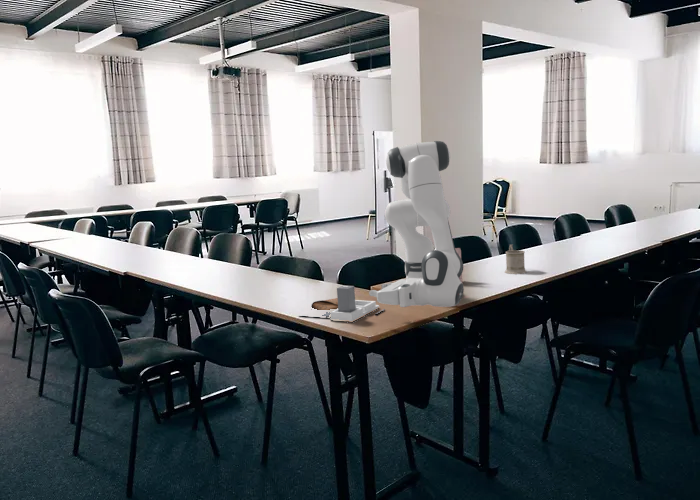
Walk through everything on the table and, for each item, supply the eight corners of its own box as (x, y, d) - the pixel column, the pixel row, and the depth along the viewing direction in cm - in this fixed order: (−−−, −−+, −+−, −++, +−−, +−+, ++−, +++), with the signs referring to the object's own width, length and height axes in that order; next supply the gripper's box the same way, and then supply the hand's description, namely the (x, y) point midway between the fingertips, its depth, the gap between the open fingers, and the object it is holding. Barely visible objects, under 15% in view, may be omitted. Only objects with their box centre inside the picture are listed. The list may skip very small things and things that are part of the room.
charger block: (345, 312, 204) (343, 284, 202) (356, 313, 201) (354, 285, 200) (338, 315, 200) (336, 287, 198) (349, 316, 198) (347, 288, 196)
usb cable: (383, 310, 209) (383, 308, 209) (385, 310, 209) (385, 308, 209) (374, 315, 202) (374, 313, 202) (376, 315, 202) (376, 313, 202)
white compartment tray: (358, 306, 217) (357, 298, 217) (379, 308, 213) (378, 299, 212) (330, 321, 199) (329, 312, 199) (352, 322, 195) (352, 313, 194)
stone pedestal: (529, 273, 260) (528, 247, 258) (507, 274, 260) (506, 248, 258) (520, 268, 274) (519, 243, 272) (500, 269, 274) (499, 244, 273)
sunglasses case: (320, 314, 209) (315, 297, 211) (314, 321, 215) (309, 304, 217) (363, 306, 217) (357, 290, 219) (356, 312, 223) (350, 297, 225)
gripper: (425, 275, 196) (388, 274, 202) (401, 289, 178) (362, 287, 185) (426, 293, 197) (389, 291, 203) (402, 308, 179) (363, 306, 186)
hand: (376, 289), depth 194 cm, fingers open, 8 cm apart
